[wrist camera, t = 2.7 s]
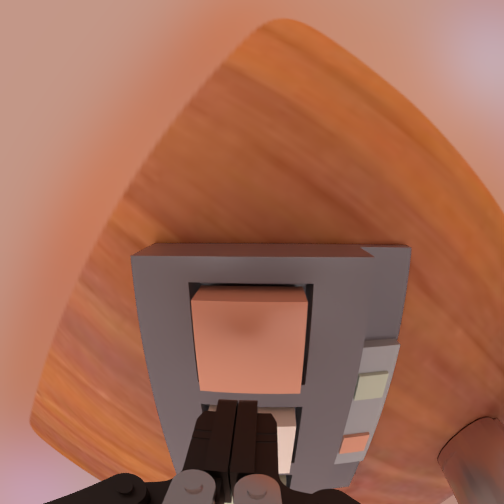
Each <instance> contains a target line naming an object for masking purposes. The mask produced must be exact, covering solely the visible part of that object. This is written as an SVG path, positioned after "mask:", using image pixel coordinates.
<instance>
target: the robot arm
mask: <svg viewBox="0 0 504 504" xmlns="http://www.w3.org/2000/svg"><path fill="white" fill-rule="evenodd" d="M438 463H439V465H440V467H441V469H442V471H443V473H444V475H445V477H446V479H447V481H448V483H449V485H450V487H451V489H452V491H453V493H454V496H455V498H456V500H457V502H458V504H504V426H503V424H502V423H501V422H500V421H499V420H498V418H497V419H494V420H493V419H491V418H489V417H486V418H482V419H479V420H477V421H475V422H473V423H472V424H470V425H469V426H467V427H466V428H464V429H463V430H462V431H460V432H459V433H458V434H457V435H456V436H455V437H453V438H452V439H451V440H450V441H449V442H448V444H447V445H446V446H445V447H444V448H443V450H442V451H441V453H440V455H439V457H438ZM232 497H233V503H234V504H360V503H359V502H357V501H356V500H354V499H353V498H351V497H350V496H348V495H347V494H345V493H343V492H342V491H339V490H336V489H322V490H319V491H316V492H314V493H313V494H310V493H304V492H299V491H295V490H292V489H290V488H288V487H287V486H286V485H284V484H283V483H282V481H281V480H280V477H279V471H278V437H277V422H276V420H275V419H274V417H273V415H272V414H271V413H258V400H239V402H238V400H227V399H219V400H218V403H217V408H216V411H204V412H203V413H202V414H201V415H200V416H199V417H198V418H197V420H196V424H195V427H194V431H193V434H192V439H191V441H190V445H189V448H188V452H187V456H186V459H185V463H184V466H183V469H182V471H181V472H180V473H178V474H177V475H176V476H175V477H174V478H173V479H170V480H167V481H162V482H144V481H143V480H142V479H141V478H139V477H138V476H136V475H133V474H129V473H121V474H117V475H114V476H112V477H110V478H108V479H105V480H103V481H101V482H99V483H96V484H94V485H92V486H89V487H87V488H85V489H82V490H80V491H77V492H75V493H72V494H70V495H67V496H64V497H61V498H59V499H56V500H53V501H50V502H47V503H44V504H224V503H231V502H232Z"/></svg>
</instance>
